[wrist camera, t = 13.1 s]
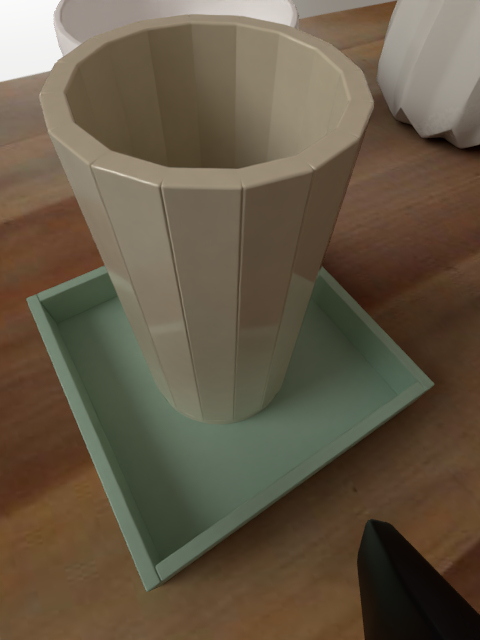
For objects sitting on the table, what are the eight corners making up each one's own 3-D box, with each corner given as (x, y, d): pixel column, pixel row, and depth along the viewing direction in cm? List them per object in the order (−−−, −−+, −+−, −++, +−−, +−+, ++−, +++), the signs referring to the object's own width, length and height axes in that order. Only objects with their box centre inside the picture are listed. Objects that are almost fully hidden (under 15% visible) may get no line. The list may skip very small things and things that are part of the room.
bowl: (110, 214, 24) (66, 86, 17) (79, 97, 31) (40, -25, 24) (317, 169, 27) (345, 45, 20) (245, 71, 34) (249, -43, 27)
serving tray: (158, 587, 14) (146, 593, 12) (46, 325, 19) (25, 298, 17) (411, 403, 18) (435, 384, 15) (256, 231, 23) (259, 200, 21)
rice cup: (259, 448, 16) (321, 236, 5) (127, 392, 17) (-39, 125, 6) (303, 328, 19) (398, 46, 8) (190, 288, 20) (148, -5, 10)
